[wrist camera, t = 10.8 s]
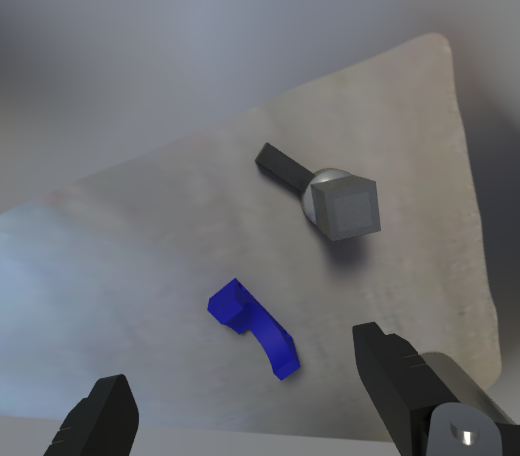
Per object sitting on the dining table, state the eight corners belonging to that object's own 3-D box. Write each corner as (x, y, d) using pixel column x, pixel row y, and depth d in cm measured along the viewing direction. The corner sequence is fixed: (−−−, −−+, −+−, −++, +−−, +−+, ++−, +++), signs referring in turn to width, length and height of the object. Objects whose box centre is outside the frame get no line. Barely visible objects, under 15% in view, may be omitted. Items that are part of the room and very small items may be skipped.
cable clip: (209, 298, 41) (204, 323, 36) (235, 277, 41) (235, 299, 35) (267, 355, 44) (271, 387, 39) (292, 336, 44) (300, 366, 38)
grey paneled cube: (353, 174, 36) (375, 181, 30) (358, 216, 37) (380, 230, 31) (310, 184, 36) (324, 192, 30) (316, 226, 37) (331, 241, 31)
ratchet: (367, 188, 39) (392, 197, 32) (334, 234, 40) (352, 251, 34) (277, 125, 36) (285, 121, 30) (244, 177, 37) (245, 184, 31)
